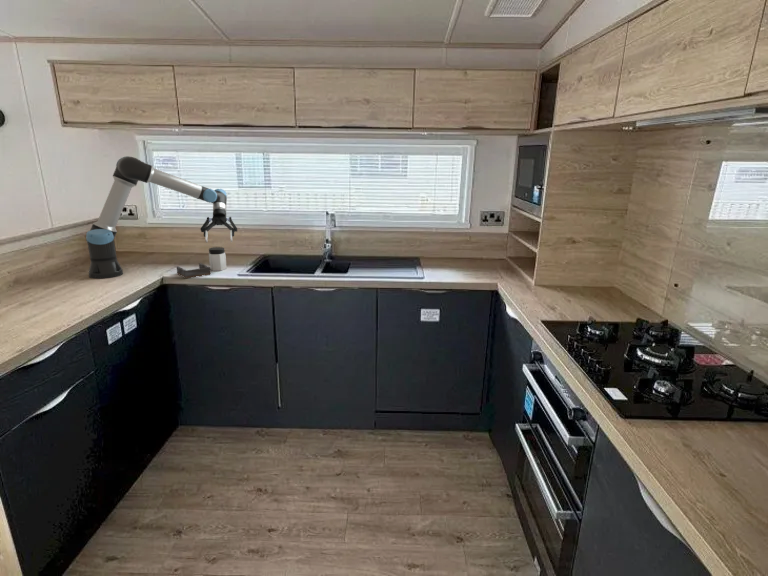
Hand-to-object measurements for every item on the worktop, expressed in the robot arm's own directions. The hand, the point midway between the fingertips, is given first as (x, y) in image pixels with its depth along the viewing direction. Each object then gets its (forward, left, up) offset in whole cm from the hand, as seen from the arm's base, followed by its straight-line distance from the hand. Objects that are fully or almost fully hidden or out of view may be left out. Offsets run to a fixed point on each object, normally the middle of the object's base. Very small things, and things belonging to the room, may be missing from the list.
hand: (218, 240), depth 249 cm
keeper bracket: (+11, -20, -14) cm, 27 cm away
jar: (+9, -5, -15) cm, 18 cm away
